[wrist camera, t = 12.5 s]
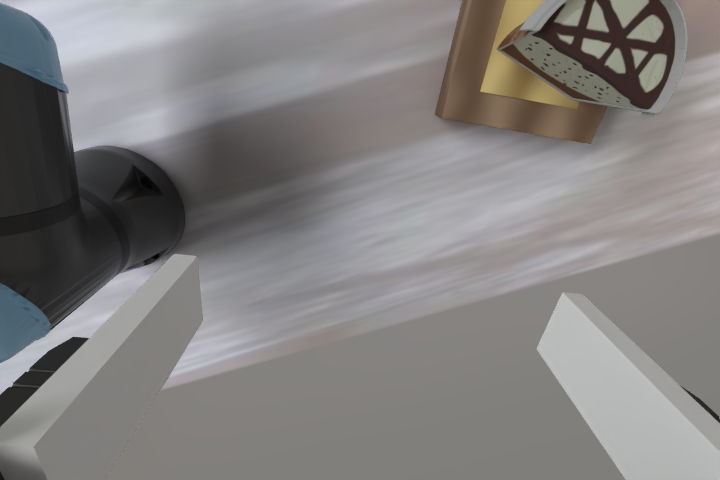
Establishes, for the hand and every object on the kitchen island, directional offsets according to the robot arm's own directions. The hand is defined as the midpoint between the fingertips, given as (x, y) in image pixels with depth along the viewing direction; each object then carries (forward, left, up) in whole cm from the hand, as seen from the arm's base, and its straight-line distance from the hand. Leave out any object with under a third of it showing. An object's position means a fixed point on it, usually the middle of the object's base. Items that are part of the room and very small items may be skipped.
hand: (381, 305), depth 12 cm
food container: (+16, +13, -27) cm, 33 cm away
